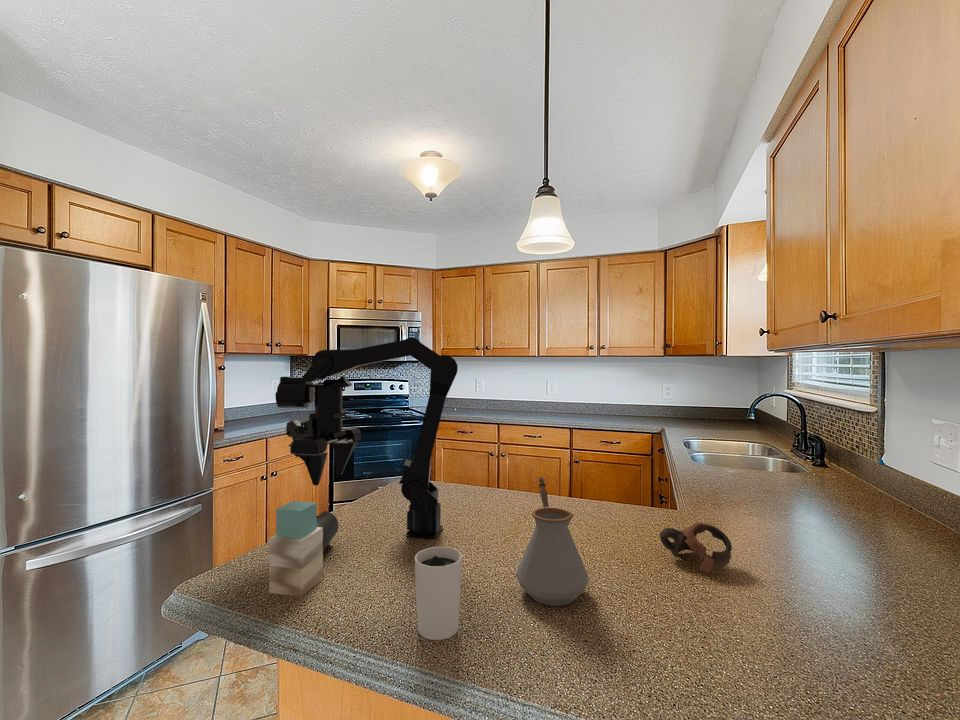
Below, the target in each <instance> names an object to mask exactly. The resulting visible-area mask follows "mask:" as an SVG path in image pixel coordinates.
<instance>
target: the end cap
mask: <svg viewBox="0 0 960 720" xmlns="http://www.w3.org/2000/svg"><path fill="white" fill-rule="evenodd" d="M317 527H322V528H323V552H324V551H325V549H326V548H327V546H329V544H330V542H332V540H333V538H334V537H335V536H336V534H337V533H338V530H339V521H338V519H337V517H336V516H335V515H334V514H333V513H332V512H330V511H326V510H323V511H322V512H321V513H320V514H319V515H317Z"/></svg>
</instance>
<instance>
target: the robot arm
mask: <svg viewBox="0 0 960 720" xmlns="http://www.w3.org/2000/svg"><path fill="white" fill-rule="evenodd" d="M405 357H412V358H414V359H415V360H417V361H418V362H420V364H422V365H424V366H425V367H427V369H430V377H429V394H428V395H429V396H428V401H427V403H426V404H427V405H426V408H425V411H424V416H423V421H422V423H421V424H422V425H421V428H420V433H419V437H418V439H417V440H418V441H417V444H416V450H415V451H414V456H413V457H412V460H409V459H406V460H405V461H404V464H403V465H402V467H403V469H402V475H401V477H400V479H399V482H398V484H399V485H401V487H400V492H401V494H402V495H403V497H404V498H405V499H406V500H407V501H409V507H408V511H407V512H406V530H407V532H406V533H405V535H406V537H411V538H412V537H413V538H415V537H416V538H426V539H435V538H436V537H437V536H438V535H439V534H440V532H441V531H442V530H443V529H444V525H442V523H441V513H442V512H441V503H442V502H439V501H438V499H439V490H440V489H439V488H438V487H437V486H436V485H434V483H433V482H432V481H430V479H431V467H432V466H431V465H432V463H431V462H432V461H431V460H432V455H433V450H434V446H435V441H436V438H437V434H438V430H439V425H440V422H441V417H442V413H443V409H444V404H445V401H446V398H447V396H448V394H449V393H450V389H451V387H452V385H453V383H454V381H455V379H456V376H457V374H458V369H459V368H458V363H457V361H456V360H455V358H453V357H452V356H451V355H443V354H442V355H439V354H438V353H437V352H436V351H434V350H432V349H430V348H429V347H428V346H426V345H425V344H423V343H422V342H421V340H419V339H417V338H416V337H408V338H406V339H401V340H397V341H396V340H395V341H392V342H388V343H382V344H376V345H371V346H367V347H362V348H361V347H360V348H356V349H323V350H319V351H317V352H315V354H314V355H313V357H312V360H311V366H309V367H308V369H307V371H306V372H305V373H304V374H303V376H302V377H300V376H299V377H292V376H280V378H279V383H278V385H277V388H276V391H275V403H276V406H277V407H278V409H284V408H285V409H301V408H302V409H306V408H308V407H310V406H309V405H310V404H313V403H314V412H310V414H309V415H308V420H305V421H302V422H300V421H299V420H298V419H295V420H291V421H287V422H286V427H285V435H286V436H288V437H289V438H291V439H292V441H291V442H290V444H289V448H290V449H289V453H290V454H291V455H292V454H293V455H294V456H295V457H296V458H300V459H301V460H302V462H304V465H305V467H306V469H307V472H308V475H309V477H310V480H311V482H312V485H313V486H319V485H320V482H321V479H322V476H323V472H324V467H325V464H326V460H327V456H328V452H326V451H327V448H328V445H330V447H331V448H332V449H333V452H334V459H335V460H334V461H335V462H334V463H335V471H336V475H343V473H344V471H345V468H346V466H347V464H348V463H349V460H350V458H351V456H352V454H353V453H354V450H355V448H356V446H357V445H358V444H359V441H360V440H362V434H361V433H362V431H361V430H360V429H359V427H348V426H347V427H343V418H344V417H346V416H347V411H343V388H348V387H351V386H353V383H352V382H350V381H349V380H348V378H347V377H346V375H342V374H343V373H346V372H349V371H352V370H353V369H356V368H358V367H359V368H360V367H361V366H366V365H370V364H375V363H381V362H386V361H391V360H396V359H400V358H405ZM338 375H341V376H340V377H339V378H338V379H335V378H329V379H326V378H327V377H336V376H338ZM323 380H324V381H323ZM317 381H323V383H313V382H317Z"/></svg>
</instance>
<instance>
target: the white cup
mask: <svg viewBox="0 0 960 720" xmlns="http://www.w3.org/2000/svg"><path fill="white" fill-rule="evenodd" d="M462 555H463V554H462V553H461V552H460V550H458V549H456V548H454V547H449V546H432V547H427V548H425V549H421V550H419V551H418V552H417V553H416V554H415V556H414V574H415V575H414V576H415V578H414V579H415V597H416V598H415V599H416V617H417V618H416V620H417V632H418V633H419V635H420V636H422V637H423V638H424V639H427V640H430V641H442V640H446V639H449V638H451V637H453V636H454V635H456V633H458V631H459V628H460V627H459V626H460V605H461V604H460V603H461V581H462V578H461V577H462V561H463V559H462V558H463V556H462Z"/></svg>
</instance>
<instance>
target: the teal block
mask: <svg viewBox="0 0 960 720" xmlns="http://www.w3.org/2000/svg"><path fill="white" fill-rule="evenodd" d="M317 505H318V503H317V502H313V501H299V500H292V501H290V502H288V503H286V504H284V505H282V506H280V507H277V508H276V516H275V517H276V518H275V519H276V520H275V523H276V524H275V525H276V526H275V527H276V528H275V529H276V532H275V534H276V537H287V538H297V539H301V538H303V537H304V536H306V535H308V534H309V533H311V532H312V531H314V530H316V529H317V516H318V513H317V512H318V511H317V510H318V508H317V507H318V506H317Z"/></svg>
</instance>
